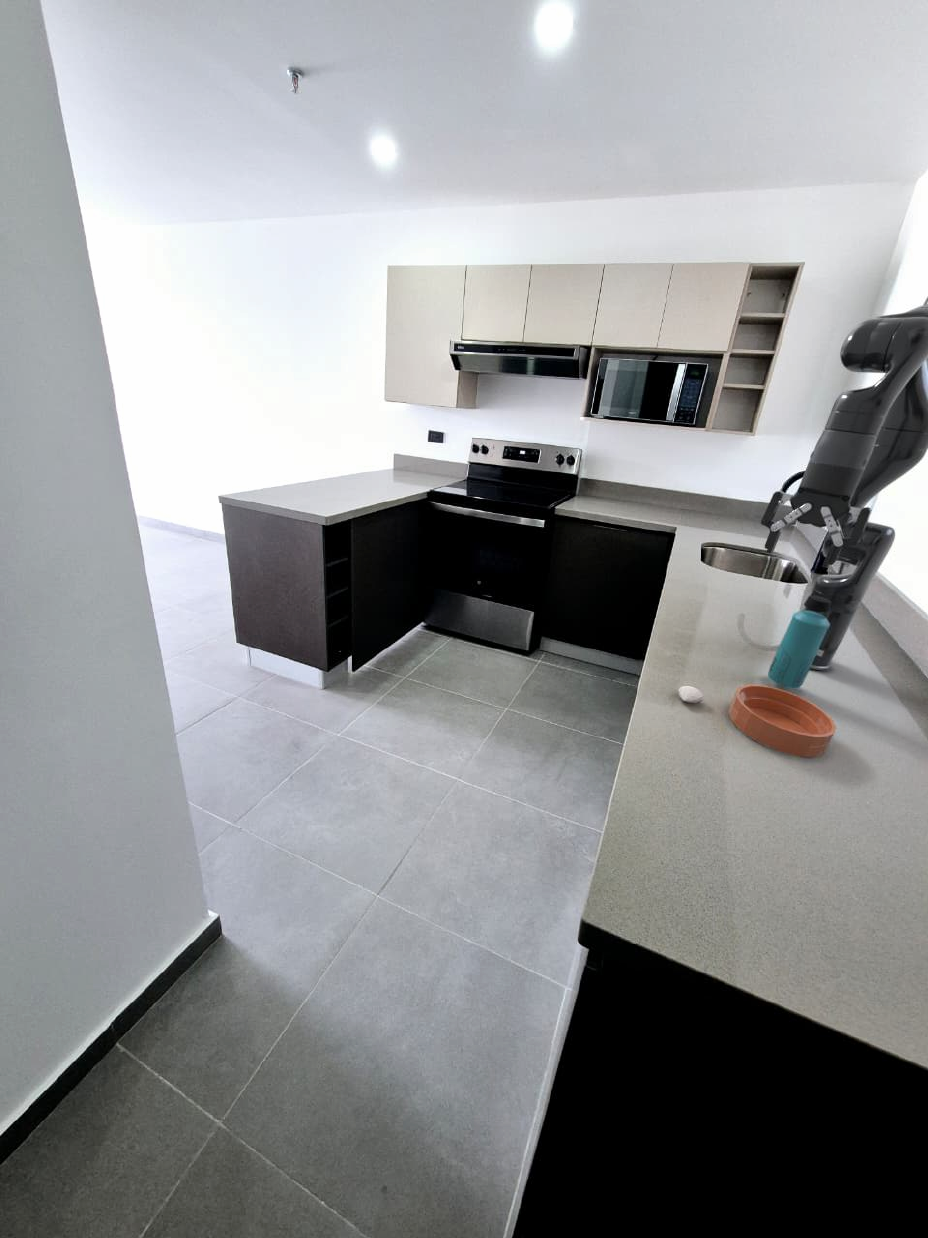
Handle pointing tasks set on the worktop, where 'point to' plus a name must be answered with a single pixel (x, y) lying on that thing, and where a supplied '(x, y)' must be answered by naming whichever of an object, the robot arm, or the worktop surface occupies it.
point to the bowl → (781, 720)
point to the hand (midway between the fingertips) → (796, 559)
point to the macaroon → (690, 694)
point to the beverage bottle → (800, 644)
